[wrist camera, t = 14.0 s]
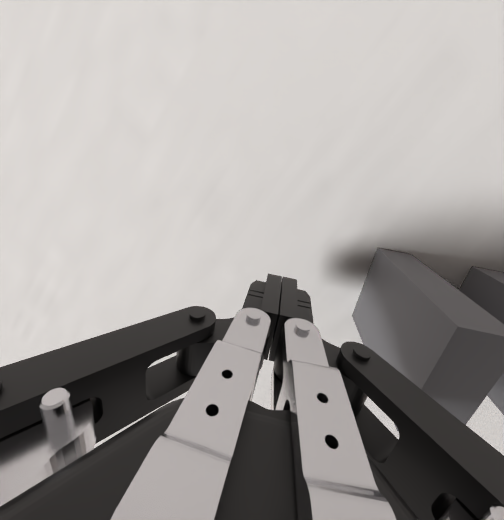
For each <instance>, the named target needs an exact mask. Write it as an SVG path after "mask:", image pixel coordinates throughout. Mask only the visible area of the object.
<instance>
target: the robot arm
mask: <svg viewBox="0 0 504 520" xmlns="http://www.w3.org/2000/svg"><path fill="white" fill-rule="evenodd" d="M281 280H282V282H281ZM269 350H270V354H269ZM174 352H177V355H176V356H174V357H172V358H170V359H167V360H165V361H163V362H161V363H158V364H156V365H154V366H152V367H150V368H148V367H149V366H150V365H151V364H152V363H153V362H155V361H156V360H159V359H161V358H163V357H165V356H168V355H170V354H172V353H174ZM268 354H269V360H270V361H274V368H273V372H272V376H271V410H268V409H265V408H263V407H261V406H260V405H258V404H256V403H254V402H252V397H253V394H254V390H255V386H256V382H257V378H258V375H259V370H260V369H261V367H262V364H263V360H264V359H266V360H267V358H268ZM188 390H189V391H188ZM187 391H188V393H187V395H186V396H185V398H182V399H179V400H176V401H173V402H171V403H169V404H166V403H167V402H169V401H171V400H173V399H174V398H176V397H178V396H180V395H181V394H183V393H185V392H187ZM367 396H368V397H369V398H370V399H371V400H372V401H373V402H374V403H375V404H376V405H377V406H378V407H379V408H380V409H381V410H382V411H383V412H384V413H385V414H386V415H387V416H388V417H389V418H390V419H391V420H392V421H393V422H394V423H395V425H396V426H397V428H398V431H399V435H400V437H399V440H398V439H397V438H396V437H395V436H394V435H393V434H392V433H391V432H390V431H389V430H388V429H387V428H386V427H385V426H384V425H383V424H382V423H381V422H380V421H379V419H378V418H377V417H376V416H375V415H374V414H373V413H372V412H371V411H370V410H369V409H368V408H367V407H366V406H365V405H364V402H365V400H366V398H367ZM164 404H166V405H165V406H163V407H161V408H159V407H160V406H162V405H164ZM157 408H159V409H158V410H156V411H154V412H153V413H151V414H150V415H148V416H146V417H145V418H143V419H141V420H140V421H138V422H137V423H135V424H133V425H132V426H130V427H128V428H127V429H125V430H124V431H122V432H120V433H119V434H117V435H116V436H114V437H112V438H111V439H109V440H107V441H106V442H104V443H103V444H101V445H99V446H98V447H96V448H94V445H95V444H96V443H98V442H99V441H101V440H103V439H105V438H106V437H108V436H110V435H112V434H113V433H115V432H117V431H119V430H120V429H122V428H124V427H126V426H127V425H129V424H131V423H132V422H134V421H136V420H138V419H139V418H141V417H143V416H145V415H146V414H148V413H150V412H152V411H153V410H155V409H157ZM93 448H94V449H93ZM0 520H504V456H503V455H502V454H501V453H500V452H498V451H497V450H496V449H495V448H493V447H492V446H491V445H490V444H488V443H487V442H486V441H485V440H483V439H482V438H481V437H480V436H478V435H477V434H476V433H475V432H473V431H472V430H471V429H470V428H469V427H467V426H466V425H465V424H464V423H462V422H461V421H460V420H459V419H457V418H456V417H455V416H454V415H452V414H451V413H450V412H449V411H447V410H446V409H445V408H444V407H442V406H441V405H440V404H439V403H437V402H436V401H435V400H434V399H432V398H431V397H430V396H429V395H427V394H426V393H425V392H424V391H423V390H421V389H420V388H419V387H418V386H416V385H415V384H414V383H413V382H411V381H410V380H409V379H408V378H406V377H405V376H404V375H403V374H401V373H400V372H399V371H398V370H396V369H395V368H394V367H393V366H391V365H390V364H389V363H388V362H386V361H385V360H384V359H383V358H382V357H380V356H379V355H378V354H377V353H375V352H374V351H373V350H371V349H370V348H368V347H367V346H365V345H363V344H360V343H357V342H346V343H344V344H342V346H341V348H339V347H336V346H334V345H332V344H330V343H328V342H326V341H324V340H323V339H322V338H321V335H320V332H319V330H318V328H317V327H316V326H315V325H314V324H313V316H312V309H311V301H310V296H309V295H308V294H307V292H306V291H303V290H299V289H297V280H296V279H291V278H287V277H283V278H282V276H277V275H272V274H268V277H267V281H266V282H261V281H257V280H256V281H255V282H253V283H252V284H251V285H250V288H249V291H248V294H247V296H246V299H245V302H244V305H243V308H242V309H241V310H239V311H238V312H237V314H236V315H235V317H234V318H230V319H216V316H215V314H214V312H213V311H211V310H210V309H208V308H205V307H201V306H193V307H188V308H185V309H182V310H179V311H175V312H172V313H169V314H166V315H163V316H160V317H157V318H153V319H150V320H147V321H144V322H141V323H138V324H135V325H132V326H128V327H125V328H122V329H119V330H116V331H113V332H110V333H106V334H103V335H100V336H97V337H94V338H91V339H88V340H85V341H81V342H78V343H75V344H72V345H69V346H66V347H63V348H60V349H56V350H53V351H50V352H47V353H44V354H41V355H38V356H34V357H31V358H28V359H25V360H22V361H19V362H16V363H13V364H9V365H6V366H3V367H0Z"/></svg>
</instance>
